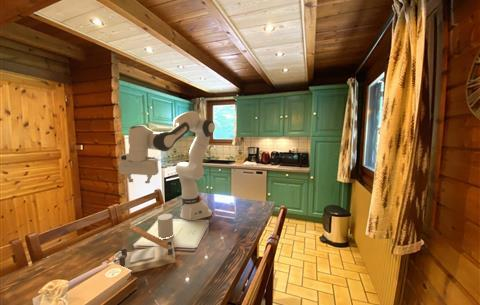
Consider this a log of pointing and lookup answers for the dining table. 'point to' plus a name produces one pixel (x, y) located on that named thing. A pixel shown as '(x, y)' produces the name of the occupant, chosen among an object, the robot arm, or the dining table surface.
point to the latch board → (147, 257)
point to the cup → (165, 225)
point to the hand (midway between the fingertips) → (139, 182)
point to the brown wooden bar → (150, 237)
